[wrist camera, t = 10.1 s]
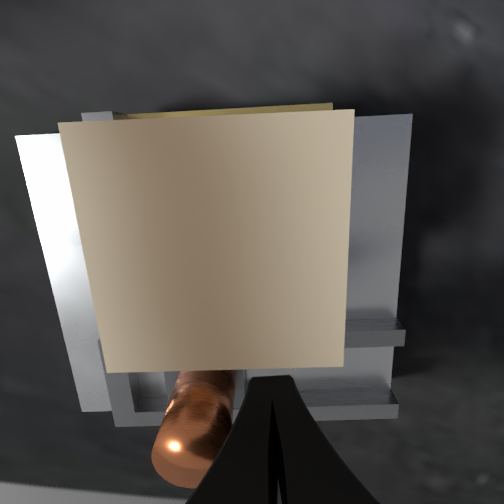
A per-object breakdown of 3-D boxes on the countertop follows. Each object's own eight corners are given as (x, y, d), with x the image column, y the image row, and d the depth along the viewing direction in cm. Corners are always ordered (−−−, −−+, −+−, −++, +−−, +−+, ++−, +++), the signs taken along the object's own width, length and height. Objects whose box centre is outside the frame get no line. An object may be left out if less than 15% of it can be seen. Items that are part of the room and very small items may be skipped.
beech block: (307, 124, 10) (354, 108, 5) (307, 272, 11) (343, 366, 7) (152, 131, 10) (58, 122, 5) (169, 276, 11) (106, 372, 7)
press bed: (397, 103, 11) (434, 93, 9) (378, 380, 14) (402, 427, 12) (36, 123, 11) (-20, 118, 9) (95, 390, 14) (65, 437, 12)
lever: (243, 345, 12) (237, 426, 9) (246, 393, 13) (242, 486, 9) (169, 348, 12) (134, 429, 9) (176, 395, 13) (145, 489, 9)
